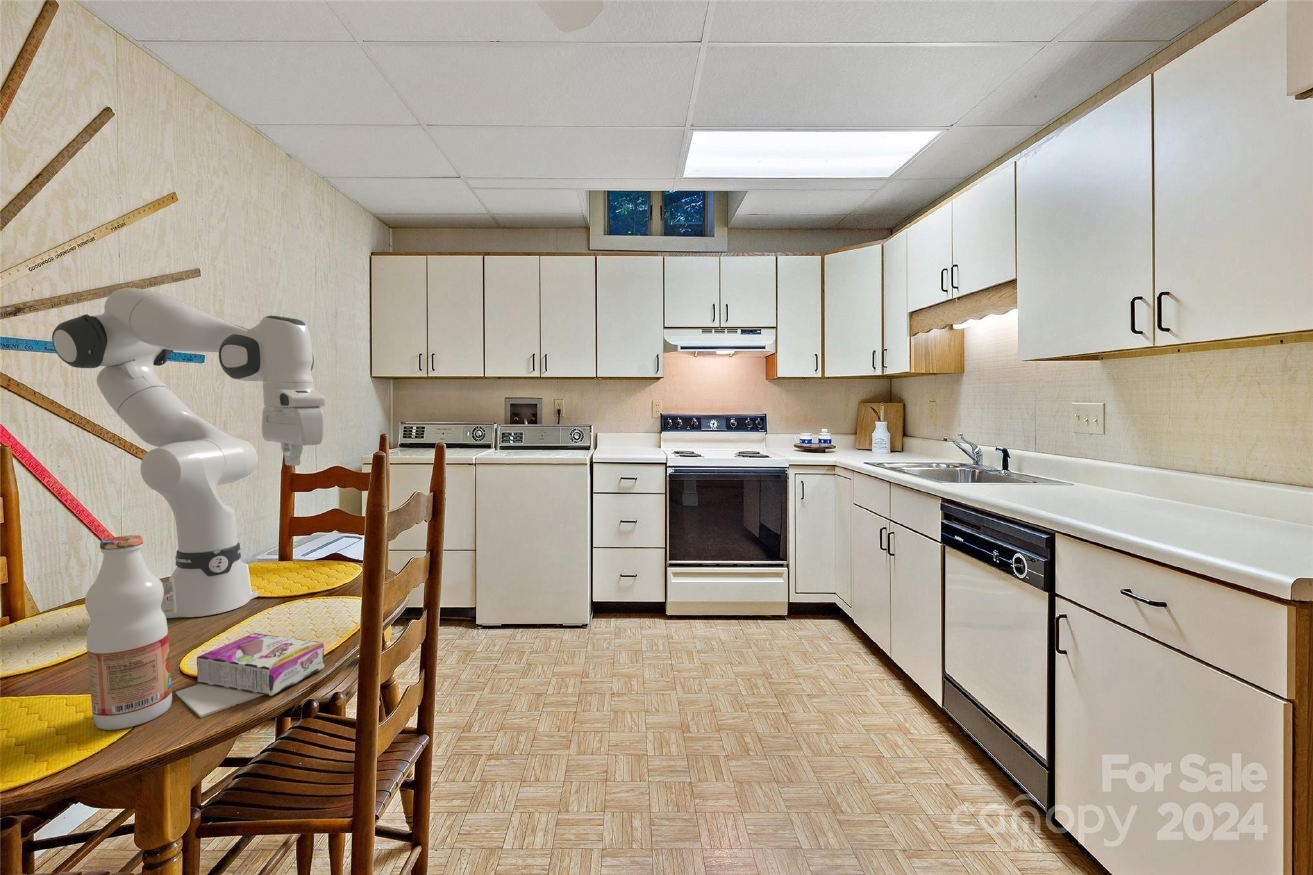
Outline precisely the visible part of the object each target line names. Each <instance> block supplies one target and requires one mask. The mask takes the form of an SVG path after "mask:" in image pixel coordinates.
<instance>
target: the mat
mask: <svg viewBox="0 0 1313 875" xmlns="http://www.w3.org/2000/svg"><path fill="white" fill-rule="evenodd" d="M298 683H299V681H298V682H296V683H294V684H292V685H296V684H298ZM292 685H291V686H292ZM175 695H176V696H177V697H178V698H179V699H181V700H182V702H184V703H185V704H186V705H187V706H188V707H189V708H190V710H192V711H193V712H194V713H195V714H196V715H197V716H198V717H199V718H201V719H202V718H204V717H206V716H209V715H212V714H215V713H217V712H221V711H224V710H226V709H229V708H231V706H232V707H235V706H237V705H236V704H238V705H239V704H240V705H241V704H242V703H246V702H248V701H251V700H255V699H256V698H260V697H261V696H265V694H260V693H254V692H248V691H243V690H237V689H232V688H226V687H221V686H215V685H209V684H204V683H197V684H195V685H193V686H190V687H186V688H183V689H180V690H177V691H175Z"/></svg>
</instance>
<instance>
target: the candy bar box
mask: <svg viewBox="0 0 1313 875" xmlns="http://www.w3.org/2000/svg"><path fill="white" fill-rule="evenodd" d="M324 651H325V645H324V642H321V641H320V642H319V641H313V640H312V641H311V640H306V639H300V638H299V639H298V638H292V637H291V638H290V637H285V636H278V635H270V634H264V633H259V632H258V633H257V632H253V633H250V634H248V635H246V636H243V637H241V638H239V639H236V640H234V641H232V642H230V643H227V644H225V645H223V646H220V647H217V648H215V649H213V650H210V651H208V652H205V653H202V654H201V655H198V656H196V669H197V671H196V672H197V673H196V674H197V684H201V683H204V684H209V685H215V686H221V687H226V688H232V689H237V690H243V691H248V692H254V693H260V694H265V695H266V696H270V697H272V696H274V695H276V694H277V693H279V692H281V691H283V690H285V689H287V688H288V687H290V686H292V684H293V685H295V684H294V683H296V682H298V683H299V682H300V681H302V680H304V679H305V678H308V677H309V676H312V675H313V674H314V673H317V672H319V671H320V670H322V669H325V653H324ZM296 684H297V683H296ZM265 695H264V696H265Z"/></svg>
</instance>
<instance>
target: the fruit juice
mask: <svg viewBox="0 0 1313 875" xmlns="http://www.w3.org/2000/svg"><path fill="white" fill-rule="evenodd" d="M143 547H144V539H143V537H142V535H137V534H136V535H135V534H131V535H129V534H128V535H120V536H119V535H118V536H113V537H109V538H105V539H102V540H101V541H100V543H99V549H100V553H101V554H103V559H102V563H101V565H100V569H99V571H98V575H97V577H96V579H95V580H94V582H93V583H92V585H90V587H89V589H88V590H87V592H86V594H85V597H84V607H85V610H86V613H87V614H88V616H89V618H90V624H89V626H88V628H87V631H86V651H87V664H88V674H89V675H88V676H89V687H90V700H91V701H90V702H91V712H92V713H91V715H92V721H93V724H94V726H95V727H96V728H97V729H99V730H103V731H104V730H105V731H115V730H123V729H128V728H132V727H136V726H139V725H142V724H145V723H147V722H150V721H153V720H154V719H157V718H158V717H160V716H162V715H163V714H165V713H166V712H167V711H168V710H169V709H170V708H171V706H172V703H173V702H172V701H173V692H172V691H173V689H172V674H171V660H170V644H169V629H168V627H169V626H168V623H167V622H168V621H167V618H166V616H165V614H164V613H163V611H162V609H161V603H162V600H163V596H165V595H164V594H165V593H164V588H163V584H162V583H163V582H162V580H161V579H160V578H159V577H158V576H157V575H156V574H155V573H153V572H152V571H151V569H150V568H149V567H148V565H147V563H146V561H145V558H144V556H143V554H142V548H143Z"/></svg>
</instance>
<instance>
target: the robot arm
mask: <svg viewBox="0 0 1313 875" xmlns="http://www.w3.org/2000/svg"><path fill="white" fill-rule="evenodd" d="M310 333H311V332H310V330H309V327H308V325H307V323H305V322H304V321H303V320H300V319H297V318H291V317H286V316H285V317H284V316H280V315H266V316H263V317H262V318H261V320H260V321H259V323H258V324H256V325H255V326H253V327H252V328H250V329H249V328H246V327H242V326H240V325H237V324H234V323H231V322H229V321H226V320H224V319H223V318H220V317H217V316H215V315H212V314H210V313H208V312H205V311H204V310H200V309H199V308H196V307H194V306H192V305H190V304H188V303H186V302H183V301H181V300H178V299H177V298H174V297H171V296H169V295H166V294H163V293H159V292H156V291H152V290H148V289H143V288H137V287H136V288H135V287H124V288H120V289H116V290H115V291H113V292H111V294H109V296H107V298H106V300H105V302H104V312H103V313H101V314H97V315H89V314H87V313H85V314H82V315H80V316H77V317H74V318H71V319H68V320H65V321H63V322H60V323H59V324H58V325H57V326H56V327H55V328H54V330H53V331H52V334H51V341H52V346H53V349H54V351H55V353H56V355H57V356H58V357H59V359H61V360H62V361H63V362H64V363H66V364H67V365H68V366H70V367H72V368H77V369H96V368H99V367H103V368H102V369H101V370H100V371H99V372H98V375H97V377H96V385H97V387H98V388H99V391H100V392H101V394H102V395H103V397H104V399H105V400H106V401H107V403H108V405H109V406H110V407H111V408H112V410H114V412H115V413H116V414H117V415H118V416H119V418H120V419H121V420H122V421H123V422H124V423H125V424H127V426H128V427H129V428H130V429H131V430H132V431H133V432H134V433H135V434H136V435H137V436H138V438H139V439H141V440H142V441H143V442H145V443H147V445H151V446H153V447H155V448H153V449H151V450H149V451H148V452H147V453H145V454H144V456H143V458H142V460H141V462H140V468H139V470H140V474H141V478H142V480H143V482H144V483H145V484H146V486H148V487H149V488H150V489H151V490H154V491H155V492H157V493H159V494H160V495H161V496H162V497H163V498H164V499H165V500H166V502H167V503H168V505H169V506H170V508H171V511H172V513H173V516H174V520H175V527H176V534H177V546H178V549H177V550H176V552H175V553H176V554H175V566H176V567H175V569H174V570H173V572H172V574H171V575H170V576H169V579H168V582H162V584H163V588H164V594H166V595H163V600H162V603H161V609H162V611H163V613H164V614H165V616H166V619H174V618H195V617H197V618H198V617H199V618H200V617H206V616H212V615H216V614H222V613H225V612H229V611H232V610H236V609H238V608H239V609H240V607H243V606H245V605H247V604H248V603H249V602H250V601H251V600H253V599H255V598H258V596H259V591H257V590H253V589H252V584H251V576H250V570H249V565H248V563H245V562H244V561H242V559H241V557H242V554H241V552H242V548H241V543H240V542H239V541H238V528H237V526H238V525H237V514H236V511H235V509H234V508H233V507H232V506H230V505H228V504H226V503H224V502H223V501H222V499H221V498H220V495H219V494H218V490H217V486H221V485H228V484H233V483H235V482H237V481H240V480H242V479H244V478H246V477H248V476H250V475H251V474H252V473H253V472H254V471H255V470H256V468H257V466H258V461H259V458H258V457H259V456H258V453H257V450H256V448H255V447H254V445H252V443H251V442H249V441H248V440H245V439H241V438H239V437H236V436H233V435H230V434H229V433H227V432H225V431H223V430H221V429H220V428H218V427H217V426H214V425H213V424H211V423H210V422H208V421H206V420H205V419H203V418H202V417H200V416H199V415H198V414H196V413H195V412H194V411H193V410H192V409H190V408H189V406H187V405H186V404H185V403H184V402H183V401H182V400H181V398H179V397H178V395H176V393H175V392H174V391H172V390H171V389H170V388H169V386H168V385H167V384H166V383H164V382H163V381H162V379H160V378H159V376H158V375H157V374H156V372H155V368H154V366H157V367H161V366H163V365H165V364H166V363H167V362H168V357H170V356H171V355H172V354H173V352H175V351H177V352H192V353H193V352H194V353H195V352H199V353H200V352H202V353H203V352H204V353H205V352H206V353H218V361H219V364H220V367H221V369H222V371H224V373H225V374H226V375H227V376H228V377H229V378H232V379H233V380H238V381H244V382H246V381H247V382H262V389H263V391H262V392H263V393H262V394H263V395H262V396H263V408H262V414H261V433H262V437H263V440H264V441H267V442H275V443H280V448H281V451H282V454H283V456H284V464H285V465H286V466H292V467H297V466H300V465H301V456H302V453H303V450H304V446H317V445H321V444H322V442H323V439H324V433H325V428H324V426H325V425H324V424H325V422H324V421H325V419H324V411H323V408H322V407H324V406H325V405H326V400H325V396H324V395H323V394H322V393H320V392H319V391H318V390H317V389H316V388H315V383H314V378H313V376H312V371H313V369H314V365H315V356H314V354H313V344H312V336H311V334H310ZM167 593H168V594H167Z"/></svg>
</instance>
